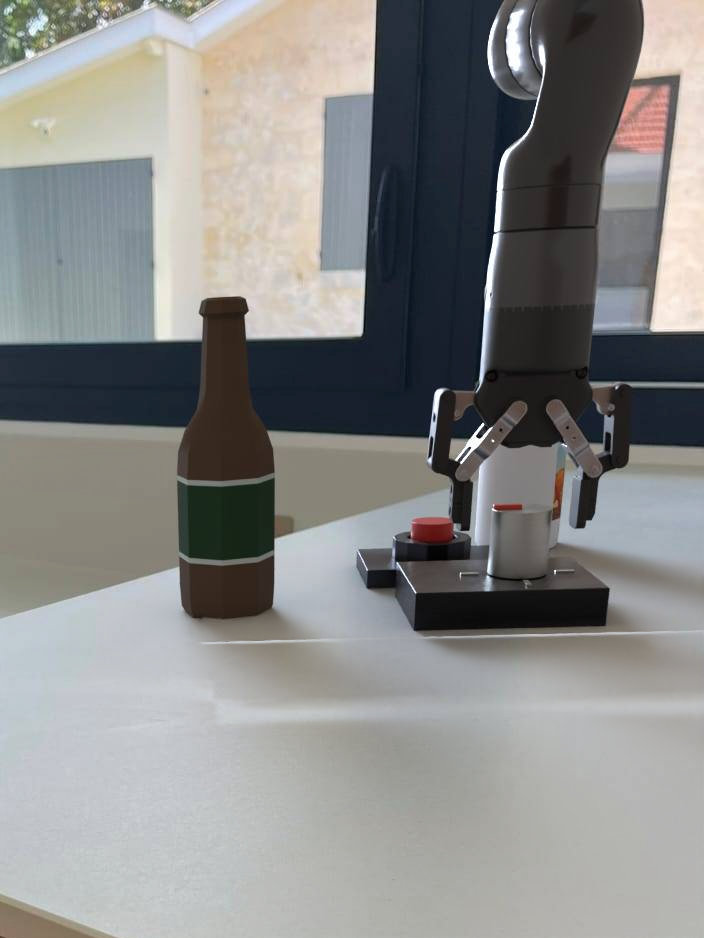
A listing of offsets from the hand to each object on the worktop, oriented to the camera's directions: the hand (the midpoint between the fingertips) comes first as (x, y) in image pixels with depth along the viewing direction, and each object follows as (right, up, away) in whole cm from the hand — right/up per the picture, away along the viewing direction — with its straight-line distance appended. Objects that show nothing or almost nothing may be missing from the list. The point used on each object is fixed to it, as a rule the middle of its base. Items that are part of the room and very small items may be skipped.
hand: (519, 528), depth 94 cm
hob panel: (-1, -6, +3) cm, 7 cm away
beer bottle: (-22, -5, +8) cm, 24 cm away
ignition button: (-3, +2, +14) cm, 14 cm away
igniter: (-3, -1, +15) cm, 15 cm away
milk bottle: (+8, +4, +25) cm, 27 cm away
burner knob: (0, -3, +1) cm, 3 cm away
